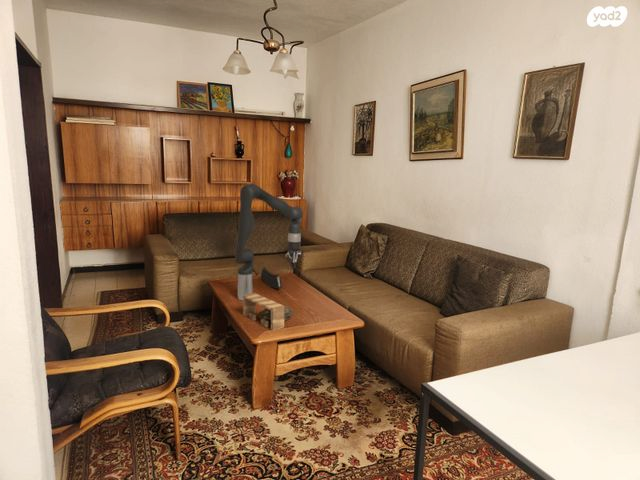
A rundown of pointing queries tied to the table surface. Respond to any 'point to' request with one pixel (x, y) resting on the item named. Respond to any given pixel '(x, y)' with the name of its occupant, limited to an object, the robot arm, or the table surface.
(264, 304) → the oak overhang
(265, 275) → the magazine
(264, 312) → the turtle shell
